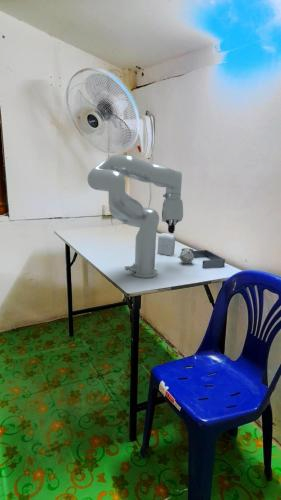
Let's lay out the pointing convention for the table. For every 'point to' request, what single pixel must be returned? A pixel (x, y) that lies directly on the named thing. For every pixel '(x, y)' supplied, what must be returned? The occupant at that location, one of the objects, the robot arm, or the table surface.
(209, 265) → the chassis bay
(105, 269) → the table surface
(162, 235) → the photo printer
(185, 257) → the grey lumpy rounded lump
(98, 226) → the table surface
